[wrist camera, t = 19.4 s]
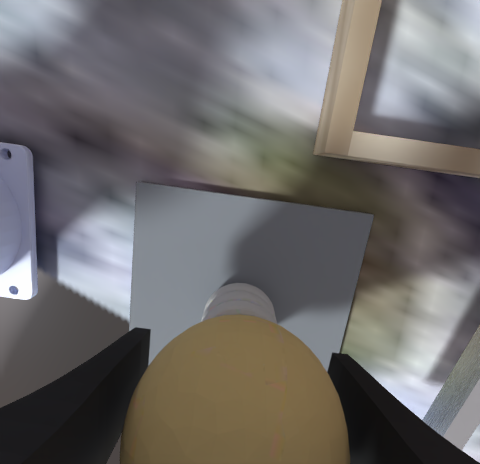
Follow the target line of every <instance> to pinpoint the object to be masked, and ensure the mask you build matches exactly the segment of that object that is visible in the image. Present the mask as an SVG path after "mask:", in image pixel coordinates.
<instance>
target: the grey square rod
mask: <svg viewBox="0 0 480 464" xmlns="http://www.w3.org/2000/svg"><path fill="white" fill-rule="evenodd" d="M422 421H423V422H425V423H426V424H427V425H428V426H430V427H431V428H432V429H433V430H435V431H436V432H437V433H439V434H440V435H441V436H443V437H444V438H445V439H447V440H448V441H449V442H451V443H452V444H453V445H455V446H456V447H457V448H459V449H460V450H461V451H462V449H463V447H464V446H465V444H466V443H467V441H468V440H469V438H470V437H471V435H472V434H473V432H474V431H475V429H476V428H477V426H478V425H479V423H480V325H479V327H478V328H477V330H476V332H475V333H474V335H473V337H472V338H471V340H470V342H469V343H468V345H467V347H466V348H465V350H464V352H463V353H462V355H461V357H460V358H459V360H458V362H457V363H456V365H455V367H454V368H453V370H452V372H451V374H450V375H449V377H448V379H447V380H446V382H445V384H444V385H443V387H442V389H441V390H440V392H439V394H438V395H437V397H436V399H435V400H434V402H433V404H432V405H431V407H430V409H429V410H428V412H427V414H426V415H425V417H424V419H423V420H422Z"/></svg>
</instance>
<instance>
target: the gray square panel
mask: <svg viewBox="0 0 480 464" xmlns="http://www.w3.org/2000/svg"><path fill="white" fill-rule="evenodd" d="M373 218H374V215H373V214H370V213H363V212H356V211H349V210H342V209H335V208H327V207H320V206H313V205H306V204H299V203H291V202H284V201H277V200H270V199H263V198H255V197H248V196H241V195H234V194H227V193H219V192H212V191H205V190H198V189H191V188H183V187H176V186H169V185H162V184H154V183H147V182H136V200H135V220H134V241H133V262H132V283H131V303H130V324H129V331H131V330H132V329H133V328H135V327H138V328H146V329H151V334H150V349H149V363H148V366H149V365H150V363H151V362H152V361H153V360H154V358H155V357H156V356H157V354H158V353H159V352H160V351H161V350H162V349H163V348H164V347H165V346H166V345H167V344H168V343H169V342H170V341H172V340H173V339H174V338H175V337H177V336H178V335H180V334H181V333H183V332H184V331H185V330H187V329H188V328H190V327H191V326H193V325H196V324H198V323H200V322H201V320H202V316H203V313H204V309H205V306H206V303H207V301H208V300H209V298H210V297H211V295H212V294H213V293H214V292H215V291H217V290H218V289H219V288H221V287H223V286H226V285H228V284H233V283H246V284H249V285H252V286H255V287H257V288H259V289H260V290H262V291H263V292H264V293H265V294H266V295H267V296H268V298H269V299H270V301H271V302H272V304H273V308H274V312H275V317H276V321H277V324H278V325H280V326H282V327H283V328H285V329H286V330H288V331H289V332H291V333H292V334H294V335H295V336H296V337H298V338H299V339H300V340H301V341H302V342H303V343H304V344H305V345H306V346H308V347H309V348H310V350H311V351H312V352H313V353H314V354H315V356H316V357H317V358H318V359H319V360H320V362H321V364H322V365H323V367H324V368H325V370H326V371H328V367H329V363H330V359H331V355H332V352H333V353H339V352H340V348H341V344H342V340H343V336H344V332H345V328H346V324H347V320H348V316H349V312H350V308H351V304H352V300H353V296H354V293H355V289H356V285H357V281H358V277H359V273H360V269H361V265H362V261H363V257H364V253H365V249H366V245H367V241H368V237H369V233H370V230H371V226H372V222H373Z"/></svg>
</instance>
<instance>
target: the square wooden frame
mask: <svg viewBox="0 0 480 464" xmlns="http://www.w3.org/2000/svg"><path fill="white" fill-rule="evenodd" d="M381 2H382V0H342V6H341V11H340V16H339V21H338V27H337V32H336V37H335V42H334V48H333V53H332V58H331V63H330V68H329V74H328V79H327V84H326V89H325V95H324V100H323V105H322V110H321V115H320V121H319V126H318V131H317V136H316V142H315V147H314V152H313V155H319V156H326V157H333V158H340V159H347V160H354V161H361V162H368V163H375V164H383V165H390V166H397V167H404V168H411V169H418V170H425V171H432V172H439V173H446V174H453V175H460V176H467V177H474V178H480V149H475V148H468V147H461V146H454V145H447V144H440V143H433V142H426V141H419V140H412V139H405V138H399V137H392V136H385V135H378V134H371V133H364V132H357V131H353V130H354V125H355V121H356V116H357V112H358V107H359V102H360V98H361V93H362V89H363V84H364V80H365V75H366V71H367V66H368V62H369V57H370V52H371V48H372V43H373V39H374V34H375V30H376V25H377V21H378V16H379V12H380V7H381Z"/></svg>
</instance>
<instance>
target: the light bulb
mask: <svg viewBox="0 0 480 464" xmlns="http://www.w3.org/2000/svg"><path fill="white" fill-rule="evenodd" d="M120 464H350V450H349V440H348V430H347V425H346V421H345V416H344V412H343V409H342V405H341V402H340V398H339V395H338V393H337V391H336V389H335V387H334V385H333V383H332V381H331V378H330V376H329V375H328V373H327V371H326V370H325V368H324V367H323V365H322V364H321V362H320V360H319V359H318V358H317V357H316V356H315V354H314V353H313V352H312V351H311V350H310V348H309V347H308V346H306V345H305V344H304V343H303V342H302V341H301V340H300V339H299V338H298V337H296V336H295V335H294V334H292V333H291V332H289V331H288V330H286V329H285V328H283V327H282V326H280V325H278V324H277V321H276V317H275V312H274V308H273V304H272V302H271V301H270V299H269V298H268V296H267V295H266V294H265V293H264V292H263V291H262V290H260V289H259V288H257V287H255V286H252V285H249V284H246V283H233V284H228V285H226V286H223V287H221V288H219V289H218V290H217V291H215V292H214V293H213V294H212V295H211V297H210V298H209V300H208V301H207V303H206V306H205V309H204V313H203V316H202V320H201V322H200V323H198V324H196V325H193V326H191V327H190V328H188V329H187V330H185V331H184V332H183V333H181V334H180V335H178V336H177V337H175V338H174V339H173V340H172V341H170V342H169V343H168V344H167V345H166V346H165V347H164V348H163V349H162V350H161V351H160V352H159V353H158V354H157V356H156V357H155V358H154V360H153V361H152V362H151V363H150V365H149V366H148V368H147V369H146V371H145V373H144V374H143V376H142V378H141V379H140V381H139V383H138V385H137V387H136V388H135V391H134V393H133V395H132V398H131V401H130V404H129V407H128V411H127V414H126V418H125V422H124V426H123V431H122V435H121V446H120Z"/></svg>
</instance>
